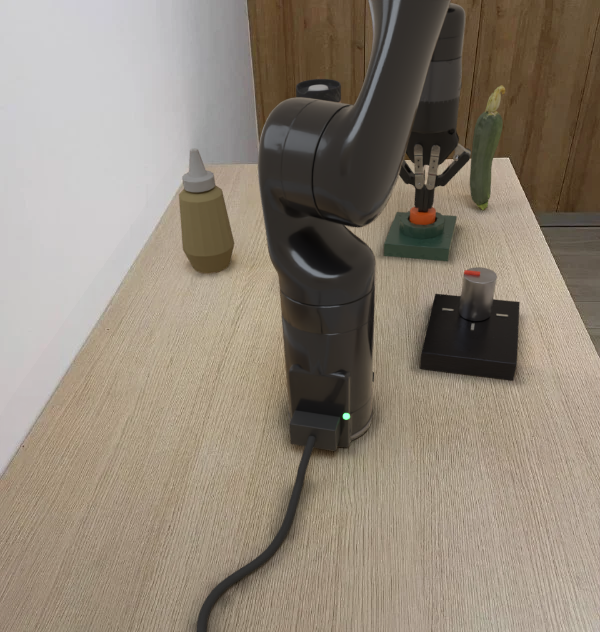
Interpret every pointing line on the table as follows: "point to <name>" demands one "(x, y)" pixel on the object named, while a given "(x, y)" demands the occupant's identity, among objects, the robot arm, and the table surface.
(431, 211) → the button
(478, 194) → the vegetable
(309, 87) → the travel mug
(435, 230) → the button housing
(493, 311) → the panel
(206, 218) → the squeeze bottle
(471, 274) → the cooker knob
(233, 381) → the table surface
